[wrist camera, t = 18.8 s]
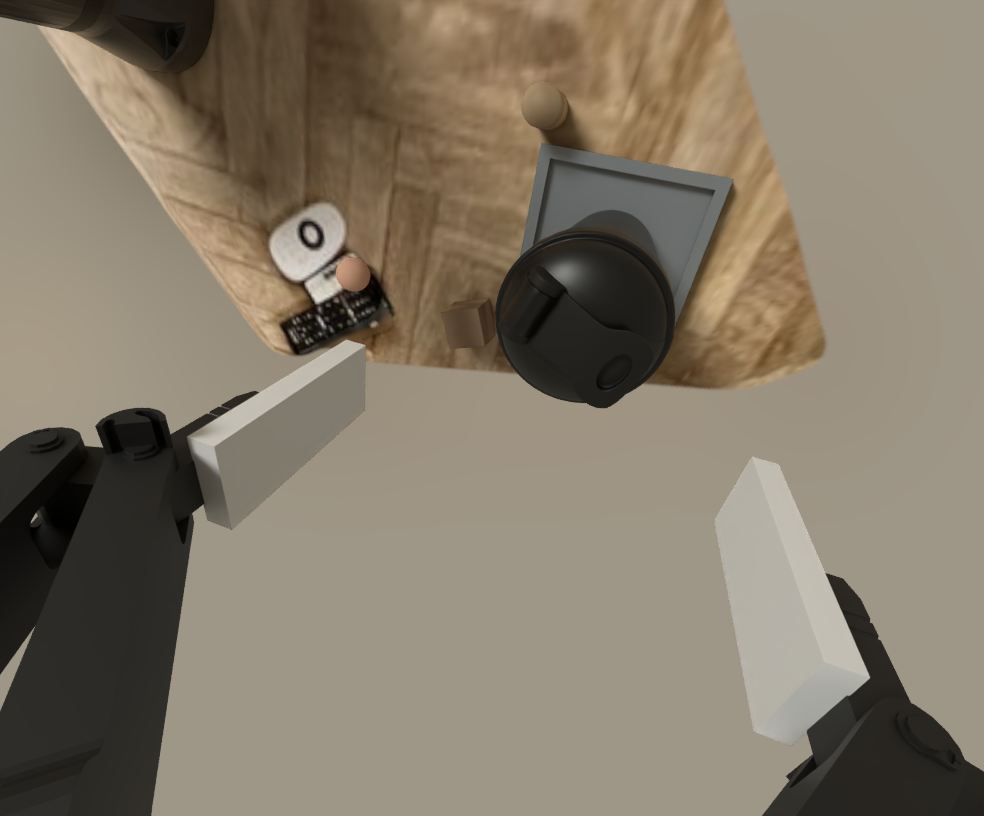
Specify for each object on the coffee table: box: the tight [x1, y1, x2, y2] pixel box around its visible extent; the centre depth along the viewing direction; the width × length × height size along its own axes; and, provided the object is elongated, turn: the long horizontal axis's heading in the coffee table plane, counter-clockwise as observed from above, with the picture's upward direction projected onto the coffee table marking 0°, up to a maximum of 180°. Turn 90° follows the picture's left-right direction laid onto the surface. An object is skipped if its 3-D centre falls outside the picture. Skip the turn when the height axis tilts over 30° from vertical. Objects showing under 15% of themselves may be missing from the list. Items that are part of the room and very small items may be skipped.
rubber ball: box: [336, 257, 370, 291], centre depth 49 cm, size 4×4×4 cm
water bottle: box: [495, 210, 675, 408], centre depth 32 cm, size 10×10×23 cm
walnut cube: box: [441, 298, 495, 349], centre depth 48 cm, size 4×4×4 cm
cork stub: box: [522, 81, 568, 130], centre depth 37 cm, size 3×3×4 cm
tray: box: [520, 143, 733, 325], centre depth 42 cm, size 16×16×1 cm
